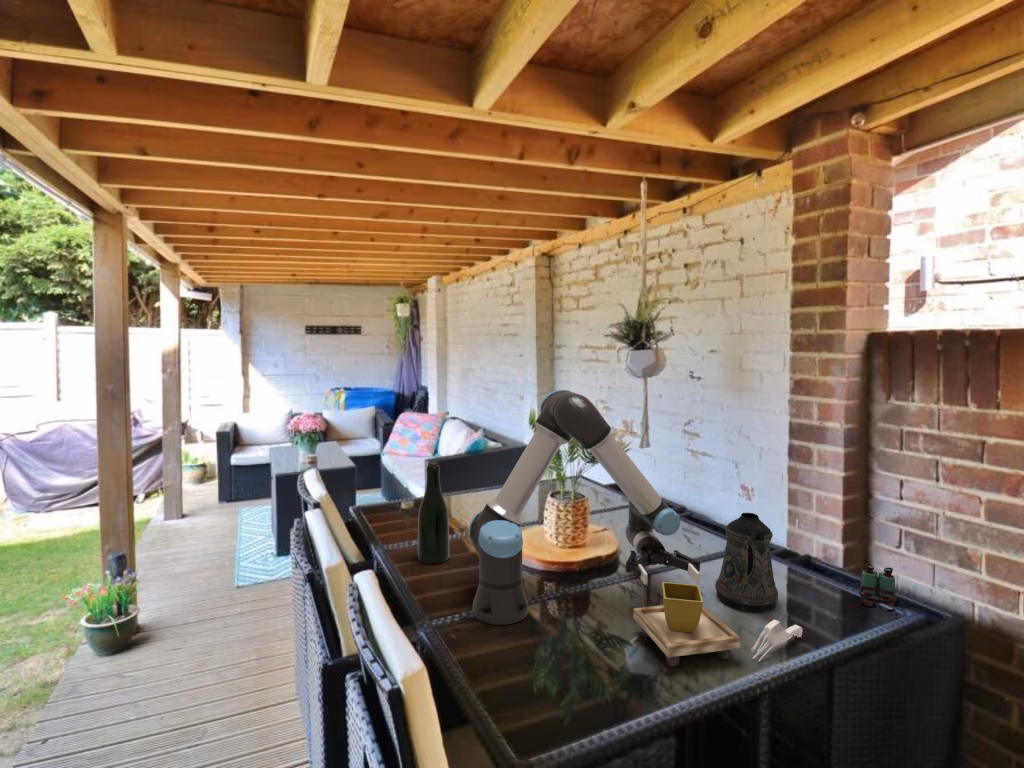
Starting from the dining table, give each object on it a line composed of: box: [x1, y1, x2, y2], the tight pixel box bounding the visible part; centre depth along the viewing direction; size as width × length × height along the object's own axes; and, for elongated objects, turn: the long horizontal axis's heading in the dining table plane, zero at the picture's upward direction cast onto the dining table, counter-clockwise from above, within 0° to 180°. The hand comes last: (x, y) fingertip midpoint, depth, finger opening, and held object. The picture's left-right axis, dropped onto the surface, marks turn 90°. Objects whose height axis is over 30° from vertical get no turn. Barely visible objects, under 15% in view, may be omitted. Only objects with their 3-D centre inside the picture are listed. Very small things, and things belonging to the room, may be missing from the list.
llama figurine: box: [750, 619, 803, 662], centre depth 134 cm, size 2×11×18 cm
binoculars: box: [859, 563, 899, 607], centre depth 157 cm, size 9×11×10 cm
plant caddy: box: [633, 604, 741, 667], centre depth 135 cm, size 18×18×6 cm
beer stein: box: [714, 512, 779, 614], centre depth 158 cm, size 16×19×25 cm
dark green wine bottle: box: [417, 461, 450, 565], centre depth 187 cm, size 10×10×33 cm
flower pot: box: [661, 581, 704, 633], centre depth 134 cm, size 9×9×9 cm
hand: (672, 579), depth 144 cm, fingers open, 13 cm apart
